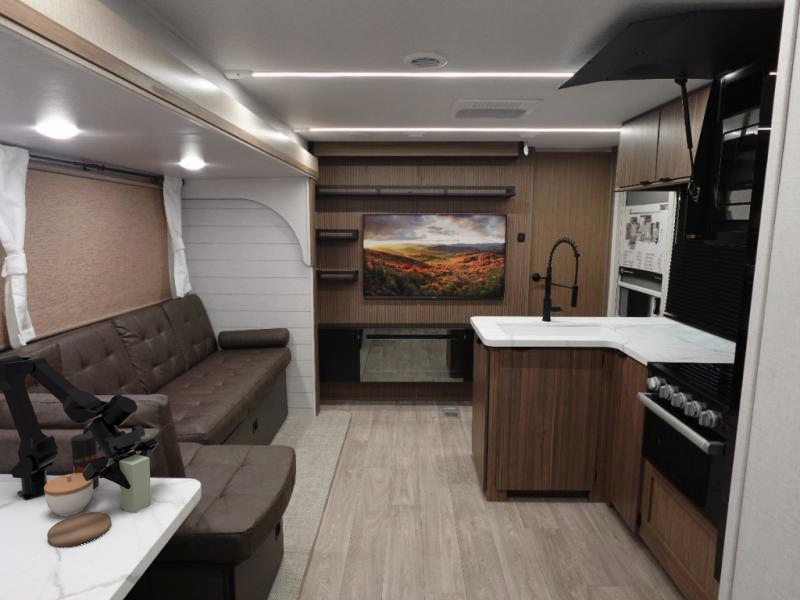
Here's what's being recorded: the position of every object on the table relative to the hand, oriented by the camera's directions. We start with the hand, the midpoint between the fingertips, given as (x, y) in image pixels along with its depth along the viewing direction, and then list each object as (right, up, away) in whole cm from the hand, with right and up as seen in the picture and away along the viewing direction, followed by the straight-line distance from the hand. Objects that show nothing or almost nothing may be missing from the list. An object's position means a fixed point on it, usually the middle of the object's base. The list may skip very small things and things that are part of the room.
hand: (138, 483), depth 132 cm
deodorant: (-21, -5, +12) cm, 25 cm away
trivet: (-9, -8, -11) cm, 16 cm away
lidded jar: (-17, -7, -1) cm, 19 cm away
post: (-1, -7, +1) cm, 7 cm away
